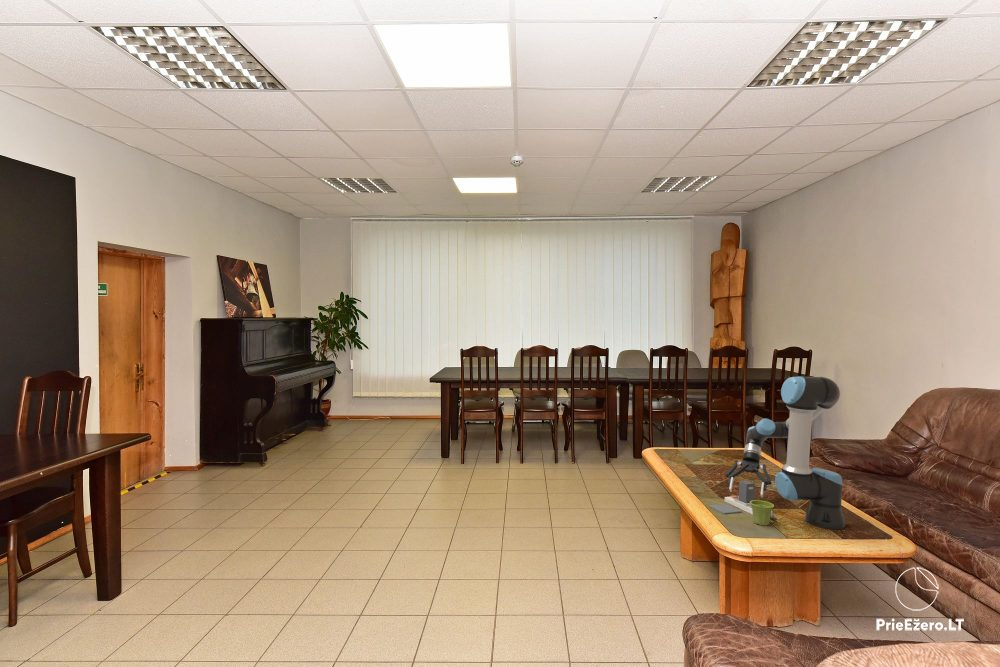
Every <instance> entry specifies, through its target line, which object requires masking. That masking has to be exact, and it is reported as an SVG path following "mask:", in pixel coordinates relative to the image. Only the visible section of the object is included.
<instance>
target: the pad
mask: <svg viewBox="0 0 1000 667" xmlns="http://www.w3.org/2000/svg"><path fill="white" fill-rule="evenodd" d="M708 507H709V508H711V509H712V510H714V511H717V512H718V513H720V514H721V515H729V514H741V513H742V512H743V510H741V509H739V508H737V507H735V506H733V505H731V504H729V503H723V504H721V503H720V504H714V505H713V504H711V505H709V506H708Z"/></svg>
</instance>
